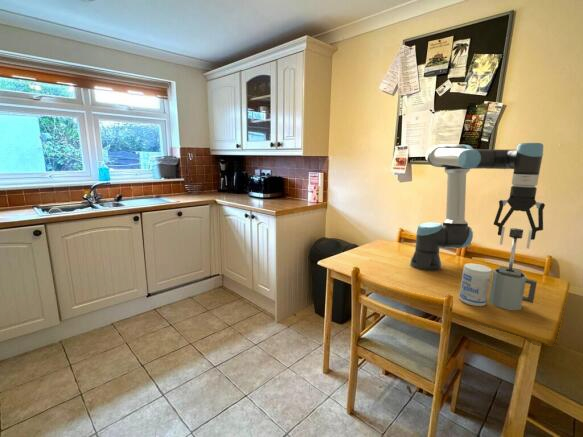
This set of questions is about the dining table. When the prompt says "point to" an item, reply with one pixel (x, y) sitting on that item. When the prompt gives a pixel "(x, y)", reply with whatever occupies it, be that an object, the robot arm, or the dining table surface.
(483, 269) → the supplement tub
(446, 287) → the dining table surface
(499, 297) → the press carafe
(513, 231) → the plunger
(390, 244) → the dining table surface
